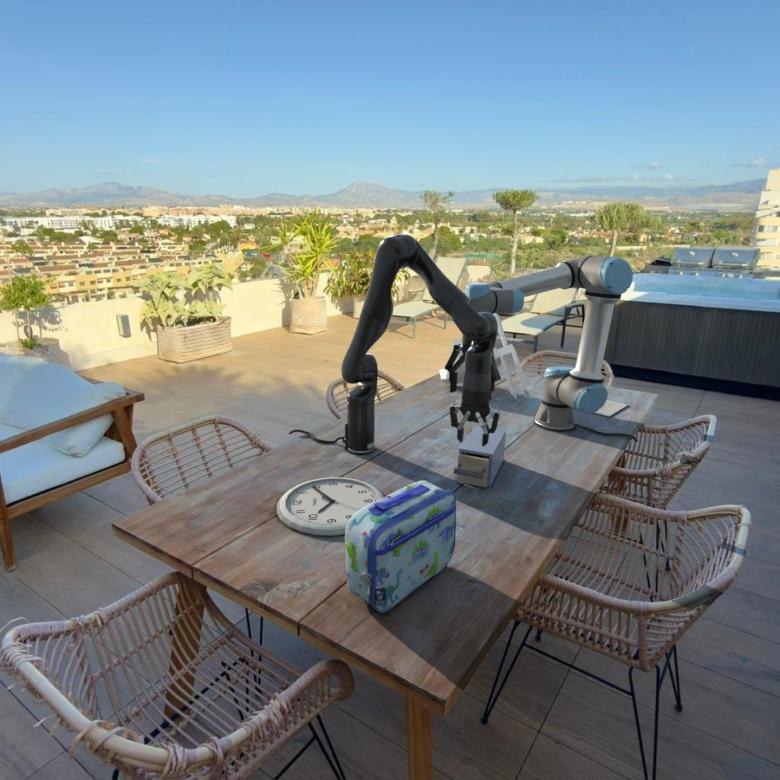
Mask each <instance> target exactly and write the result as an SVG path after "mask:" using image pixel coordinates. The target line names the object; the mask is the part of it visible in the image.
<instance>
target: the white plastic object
mask: <svg viewBox="0 0 780 780" xmlns="http://www.w3.org/2000/svg"><path fill="white" fill-rule="evenodd" d="M492 314H493V315H494V316H495V317H496V319H497V323H498V335H499V338H500V342H501V345H502V347H500V348H498V349H496V350H495V349H493V351H494V359H495V362H496V365H497V368H499V367H500V366H502V370H503V373H504V376H505V380H506V383H507V386H508V390H509V393H510V394H511V395H512V397H513V398H514V399H515V400H517V392H516V391H517V390H516V388H515V385H514V381H513V378H512V375H511V371H510V369H509V365H508V361H510V360H513V363H514V366H515V369H516V372H517V376H518V380H519V382H520V385H521V389H522V391H523V393H524V395H525V396H526V397H528V396H531V395H530V390H529V388H528V387H529V386H528V384H527V381H526V378H525V375H524V371H523V369H522V368H523V367H522V366H521V362H520V359H519V355H518V352H517V349H516V347H515V346H514V345H513V343H511V344H508V341H507V337H506V334H505V331H504V328H503V325H502V321H501V318H500V315H499V313H492ZM457 344H461V346H463V344H462V338H460V339H458V338H454V340H453V344H452V349H451V353H450V355H451V354H452V352H453V348H454V345H457ZM462 355H463V353H462V350H461V351H460V353H459V355H458V356H457V358H456V360H455V362H454V364H455V363H456V362H457V361H458V360H459V359H460V357H461V356H462ZM454 364H453V365H454ZM464 370H465V362H464V363H463V364H462V365H461V366H460V367H459V368H458V369H457V370H456V371H455V372H457V373H458V374H457V385H458V384H463V375H464ZM438 372H439V376H440V381H442V383H443V384H444V385H445V386H450V384H451V382H449V371H447V370H445V369H444V368H442V369H440V370H439V371H438Z"/></svg>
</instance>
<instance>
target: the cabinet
mask: <svg viewBox="0 0 780 780" xmlns="http://www.w3.org/2000/svg"><path fill="white" fill-rule="evenodd" d="M483 433H484V432H483V430H482V427H481V426H480V425H475V426H474V427H473V428H472V430H471V431H470V432H469V434H468V435H467V436H466V438H465V439H464V440H463V441H462V443H461V445H460V447H458V455H459V454H463V453H464V452H466V453H472V454H477V455H483V456H488V457H489V468H488V481H487V487H491V486H492V484H493V482H494V480H495V477H496V476H497V474H498V472H499V470H500V468H501V466H502V464H503V462H504V458H505V447H506V437H507V436H506V435H507V430H506V429H499V428H497V429H496V431H495V432H494V433H489V441H488V443H487V445H485V446H482V437H483Z"/></svg>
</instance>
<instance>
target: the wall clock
mask: <svg viewBox="0 0 780 780" xmlns="http://www.w3.org/2000/svg"><path fill="white" fill-rule="evenodd" d="M384 497H386V495H385V494H384V493H383V492H382V491H381V490H380V489H379V488H377V487H376V486H374V485H372V484H371V483H369V482H365V481H362V480H359V479H355V478H349V477H338V476H337V477H335V476H333V477H332V476H331V477H322V478H317V479H312V480H307V481H305V482H302V483H299V484H297V485H295V486H293V487H292V488H290V489H288V490H287V491H286V492H285V493H284V494H283V495H281V496H280V498H279V499H278V502H277V503H276V515H277V517H278V518H279V520H280V521H281V522H282V523H283V524H285V525H286V526H287V527H288V528H290V529H293V530H295V531H297V532H299V533H303V534H308V535H312V536H327V537H328V536H329V537H331V536H332V537H333V536H342V535H345V531H346V527H347V524H348V522H349V520H350V518H351V517H352V515H353V514H354V513H355V512H357V511H358V510H360V509H362V508H364V507H366V506H368V505H370V504H372V503H374V502H376V501H378V500H380V499H382V498H384Z"/></svg>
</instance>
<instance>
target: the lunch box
mask: <svg viewBox="0 0 780 780" xmlns="http://www.w3.org/2000/svg"><path fill="white" fill-rule="evenodd" d="M456 531H457V499H456V495H455V493H454V492H453V490H450V489H442V488H440V487H439V486H437V485H435V484H433V483H432V482H430V481H428V480H418V481H416V482H413V483H410V484H409V485H406V486H405V487H402V488H400V489H398V490H396V491H394V492H392V493H390V494H388V495H385V497H384V498H382V499H380V500H378V501H376V502H374V503H372V504H370V505H368V506H366V507H364V508H362V509H360V510H358V511H357V512H355V513H354V514H353V515H352V517H351V518H350V520H349V522H348V524H347V527H346V531H345V534H344V552H345V577H346V578H345V580H346V586H347V589H348V592H349V593H350V594H352V595H354V596H356V597H357V598H359V599H361V600H363V602H365V603H367V604H368V605H370V607H371V608H372V609H373V610H375V611H376V612H378V613H380V614H382V613H383V614H385V613H387V612H389V611H391V609H393V608H394V607H395V606H396V605H397V604H400V602H401V601H402V600H404V599H406V597H409V596H410V595H411V594H412V593H414V592H415V591H416V590H417V589H418V588H420V587H421V586H422V585H423V584H424V583H425V582H427V581H428V580H430V579H432V578H433V577H434V576H436V575H437V574H439V573H441V572H442V571H443V570H445V568H446V567H447V566H448V564H449V563H450V561H451V560H452V557H453V554H454V551H455V548H456V547H455V546H456Z"/></svg>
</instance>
